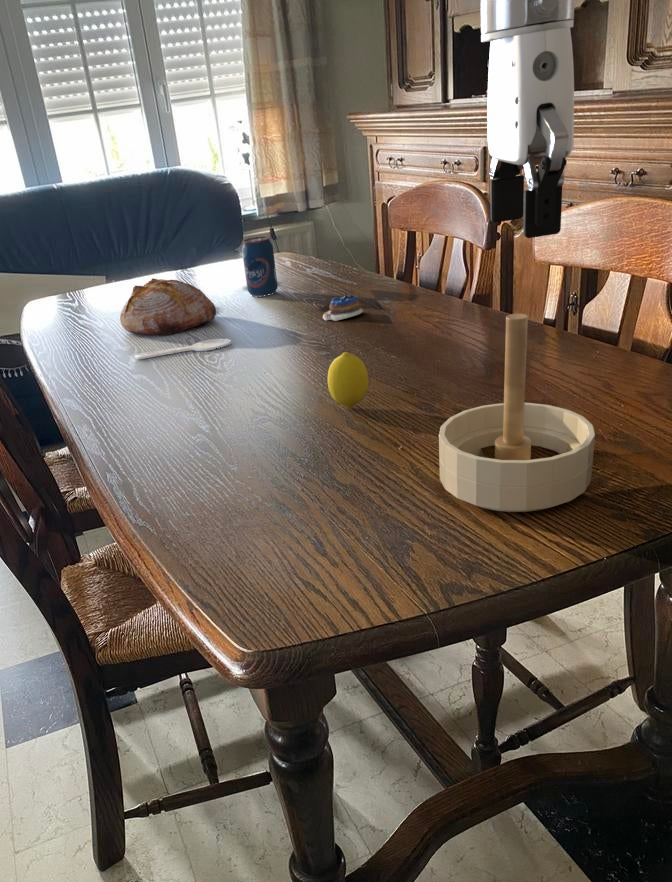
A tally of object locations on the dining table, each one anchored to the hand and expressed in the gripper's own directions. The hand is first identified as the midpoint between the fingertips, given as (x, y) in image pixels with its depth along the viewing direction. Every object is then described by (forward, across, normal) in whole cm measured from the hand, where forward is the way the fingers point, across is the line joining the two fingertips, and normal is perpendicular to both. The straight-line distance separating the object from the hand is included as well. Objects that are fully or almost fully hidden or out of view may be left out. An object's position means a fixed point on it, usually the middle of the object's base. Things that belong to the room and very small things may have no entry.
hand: (523, 227), depth 71 cm
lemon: (+25, +23, +16) cm, 37 cm away
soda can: (+25, +100, +26) cm, 106 cm away
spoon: (+24, +62, +42) cm, 79 cm away
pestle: (+24, -4, +2) cm, 25 cm away
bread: (+25, +82, +46) cm, 97 cm away
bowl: (+25, -4, +2) cm, 25 cm away
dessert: (+25, +72, +11) cm, 77 cm away
